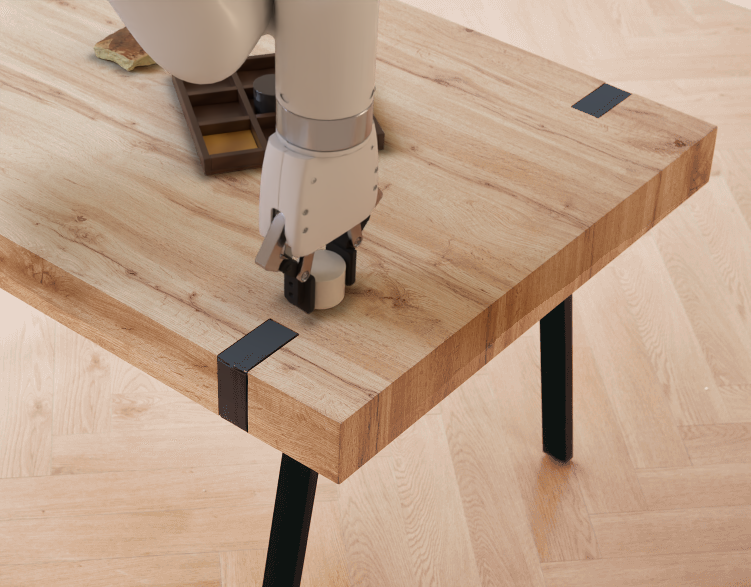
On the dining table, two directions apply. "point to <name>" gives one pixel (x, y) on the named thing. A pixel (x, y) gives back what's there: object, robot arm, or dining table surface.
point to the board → (232, 118)
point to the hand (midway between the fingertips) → (319, 289)
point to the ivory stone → (328, 278)
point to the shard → (122, 50)
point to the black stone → (264, 94)
